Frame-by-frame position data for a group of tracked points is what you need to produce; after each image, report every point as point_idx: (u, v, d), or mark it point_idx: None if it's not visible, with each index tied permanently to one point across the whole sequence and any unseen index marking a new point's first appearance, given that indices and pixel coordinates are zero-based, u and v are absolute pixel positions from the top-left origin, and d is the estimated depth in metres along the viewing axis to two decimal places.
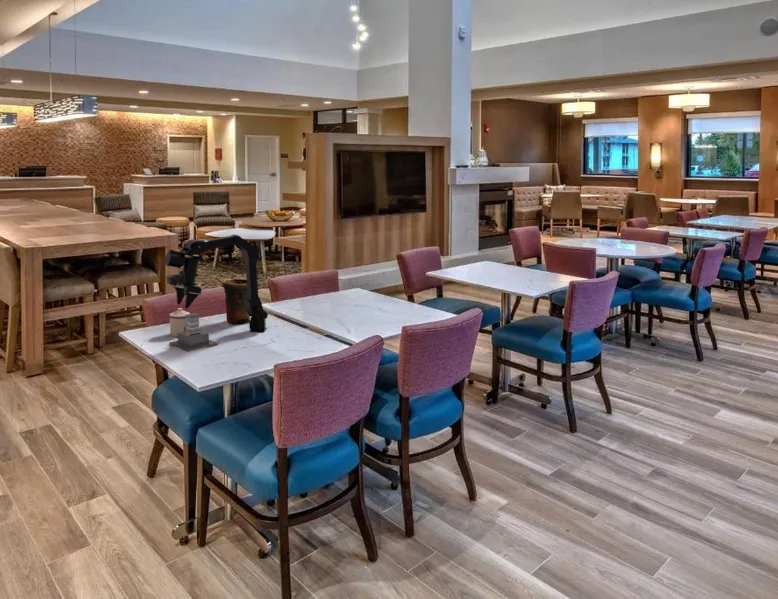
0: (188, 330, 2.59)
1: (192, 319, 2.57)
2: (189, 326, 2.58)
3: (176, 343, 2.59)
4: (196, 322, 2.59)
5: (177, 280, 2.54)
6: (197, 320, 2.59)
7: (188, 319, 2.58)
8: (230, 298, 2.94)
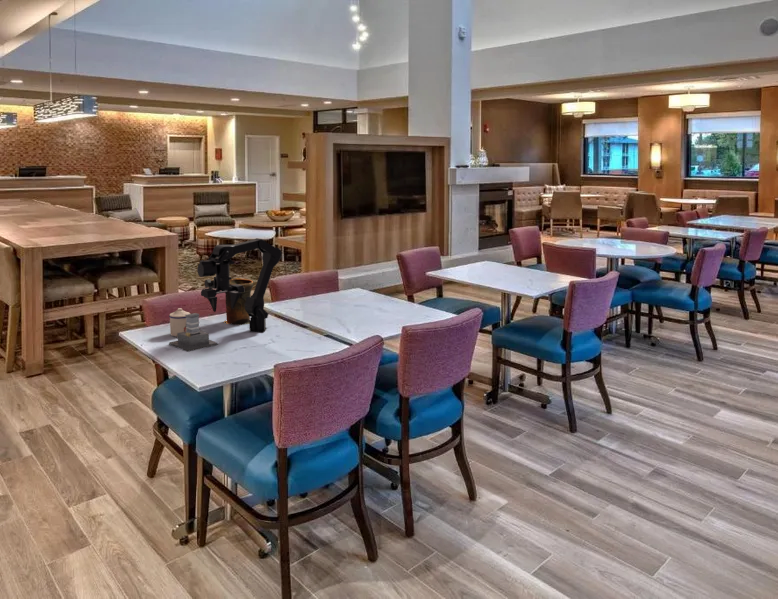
0: (188, 330, 2.59)
1: (192, 319, 2.57)
2: (189, 326, 2.58)
3: (176, 343, 2.59)
4: (196, 322, 2.59)
5: (206, 285, 2.71)
6: (197, 320, 2.59)
7: (188, 319, 2.58)
8: (230, 298, 2.94)
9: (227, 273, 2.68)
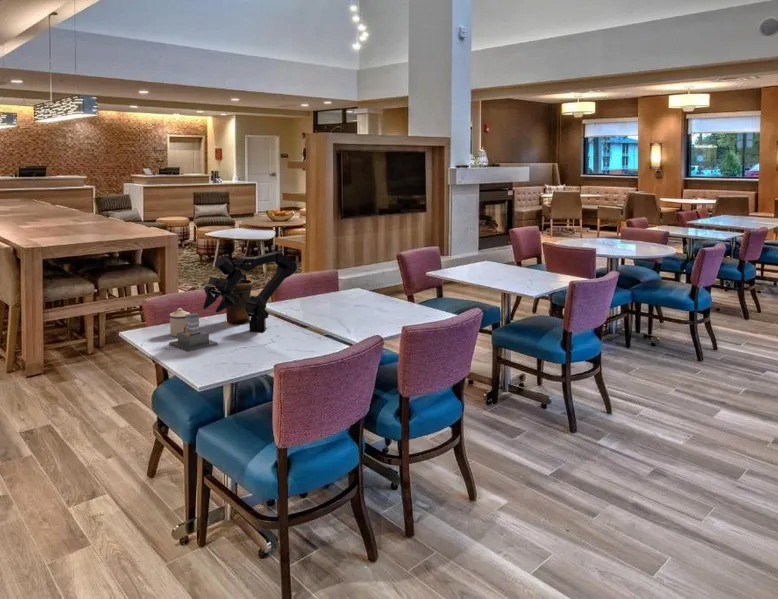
0: (188, 330, 2.59)
1: (192, 319, 2.57)
2: (189, 326, 2.58)
3: (176, 343, 2.59)
4: (196, 322, 2.59)
5: (222, 283, 2.62)
6: (197, 320, 2.59)
7: (188, 319, 2.58)
8: None
9: (237, 281, 2.70)
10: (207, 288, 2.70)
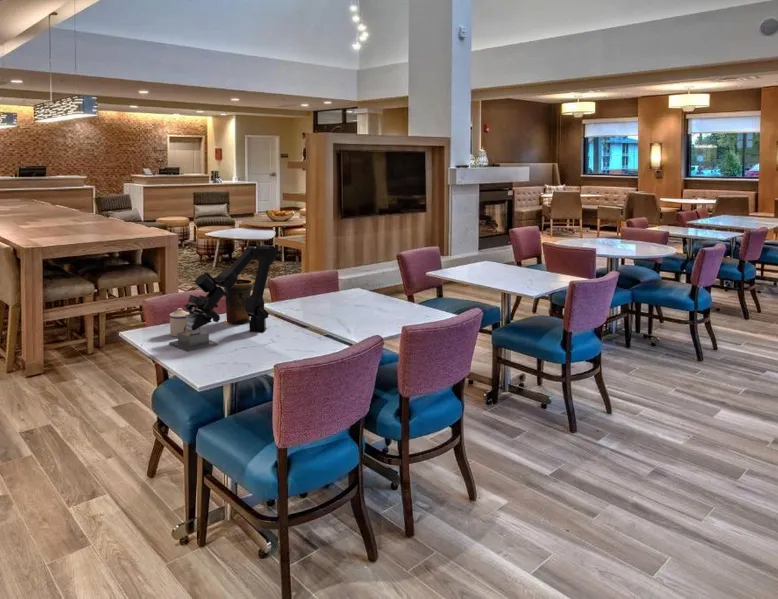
0: (188, 330, 2.59)
1: (192, 319, 2.57)
2: (189, 326, 2.58)
3: (176, 343, 2.59)
4: None
5: (202, 301, 2.56)
6: None
7: (188, 319, 2.58)
8: (230, 298, 2.94)
9: (218, 299, 2.64)
10: (187, 306, 2.64)
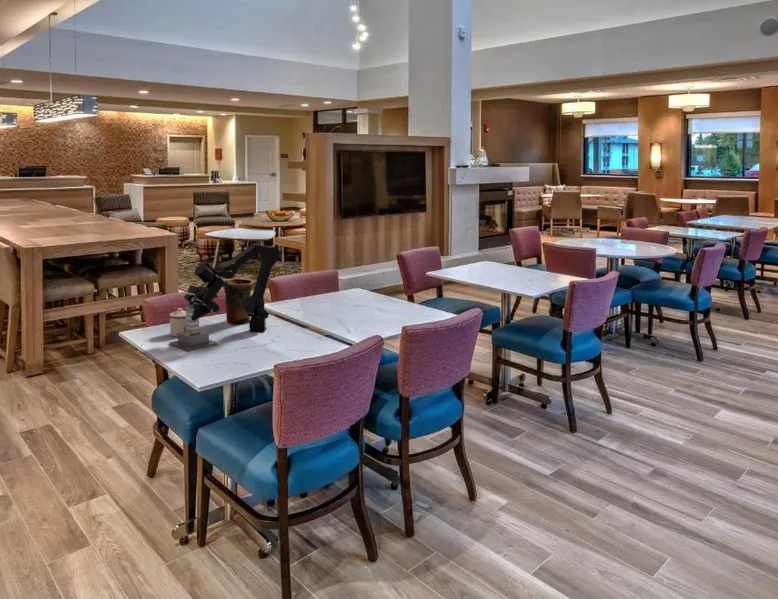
0: (188, 321, 2.58)
1: (192, 309, 2.56)
2: (189, 317, 2.57)
3: (176, 343, 2.59)
4: None
5: (201, 291, 2.56)
6: None
7: (188, 309, 2.57)
8: (230, 298, 2.94)
9: (217, 290, 2.63)
10: (187, 296, 2.63)
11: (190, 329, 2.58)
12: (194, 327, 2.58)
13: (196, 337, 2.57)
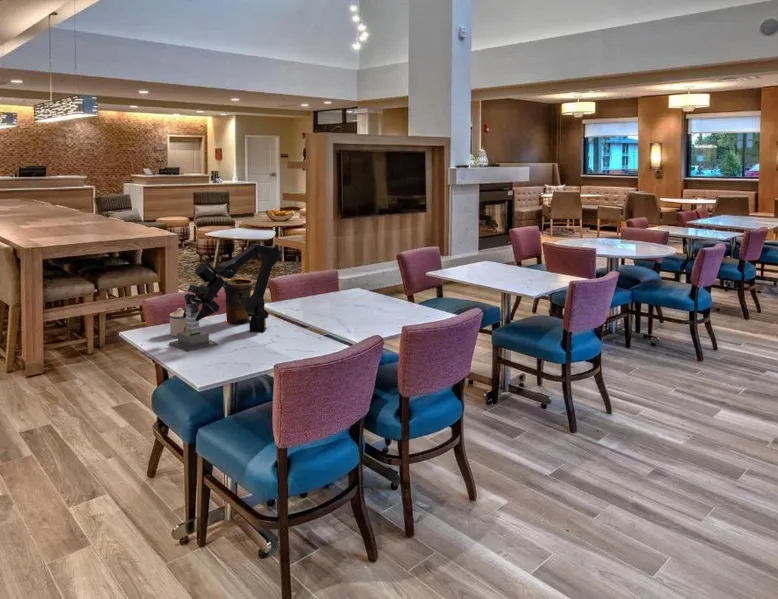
0: (188, 320, 2.58)
1: (192, 309, 2.56)
2: (189, 316, 2.57)
3: (176, 343, 2.59)
4: (196, 312, 2.58)
5: (202, 291, 2.56)
6: (197, 310, 2.58)
7: (188, 309, 2.57)
8: (230, 298, 2.94)
9: (218, 289, 2.63)
10: (187, 296, 2.63)
11: (190, 329, 2.58)
12: (194, 327, 2.58)
13: (196, 337, 2.57)
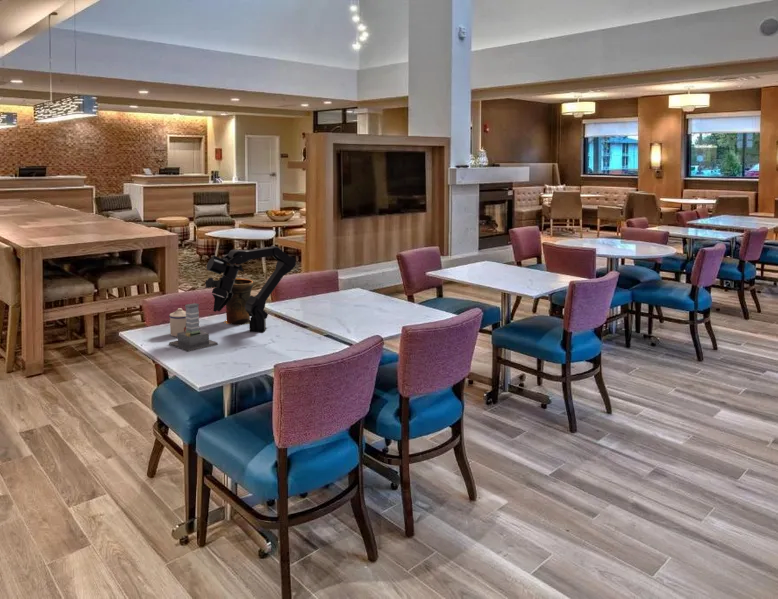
0: (188, 320, 2.58)
1: (192, 309, 2.56)
2: (189, 316, 2.57)
3: (176, 343, 2.59)
4: (196, 312, 2.58)
5: (210, 283, 2.68)
6: (197, 310, 2.58)
7: (188, 309, 2.57)
8: (230, 298, 2.94)
9: (233, 277, 2.71)
10: None
11: (190, 329, 2.58)
12: (194, 327, 2.58)
13: (196, 337, 2.57)
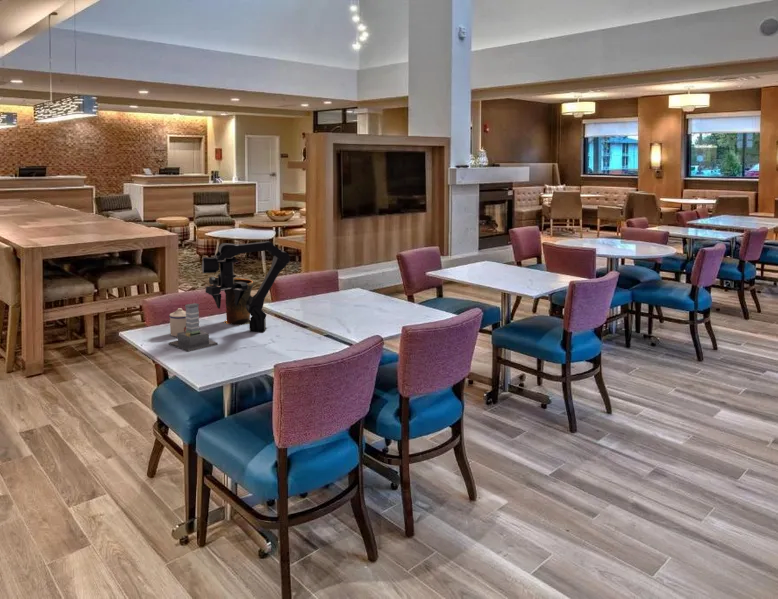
0: (188, 320, 2.58)
1: (192, 309, 2.56)
2: (189, 316, 2.57)
3: (176, 343, 2.59)
4: (196, 312, 2.58)
5: (211, 282, 2.77)
6: (197, 310, 2.58)
7: (188, 309, 2.57)
8: (230, 298, 2.94)
9: (229, 271, 2.73)
10: None
11: (190, 329, 2.58)
12: (194, 327, 2.58)
13: (196, 337, 2.57)
